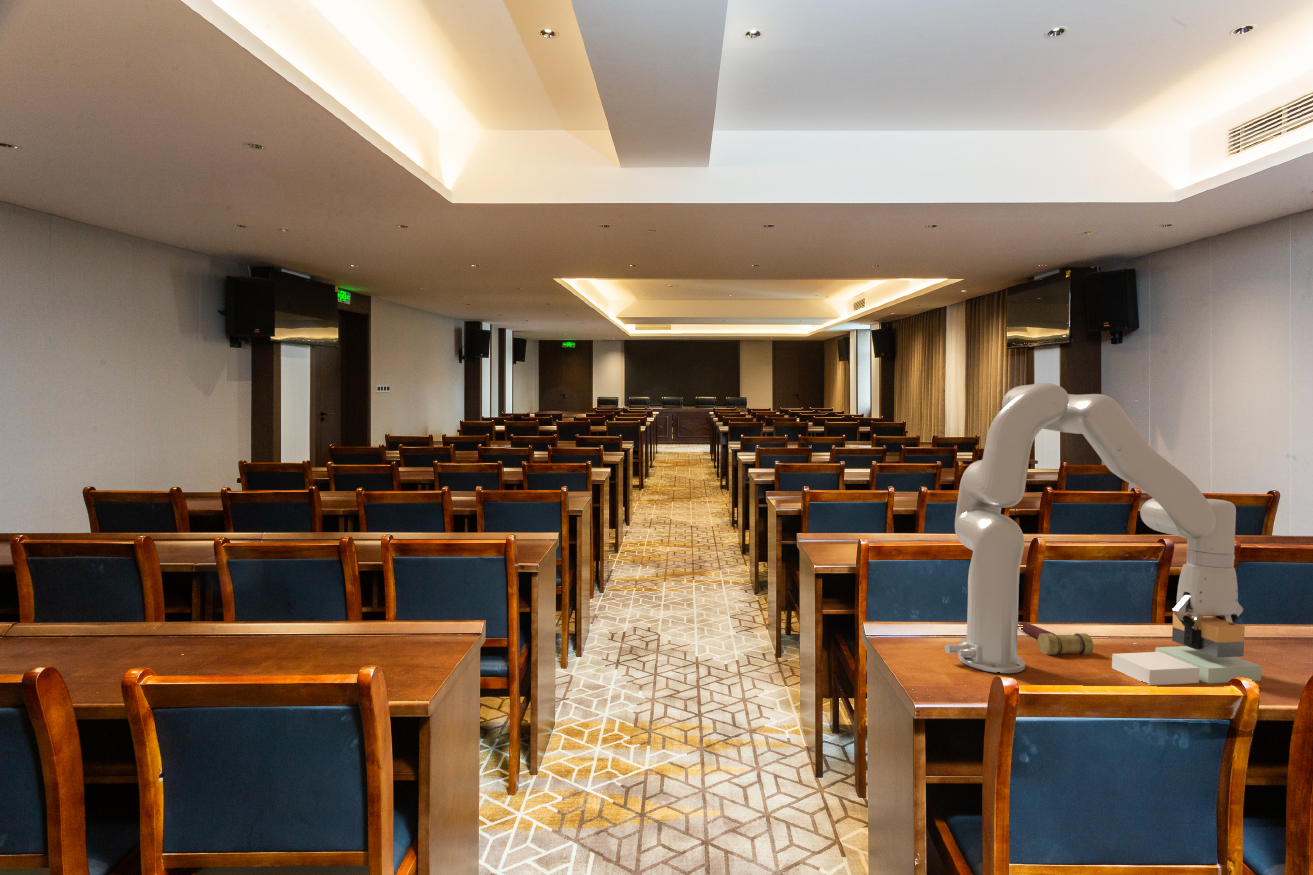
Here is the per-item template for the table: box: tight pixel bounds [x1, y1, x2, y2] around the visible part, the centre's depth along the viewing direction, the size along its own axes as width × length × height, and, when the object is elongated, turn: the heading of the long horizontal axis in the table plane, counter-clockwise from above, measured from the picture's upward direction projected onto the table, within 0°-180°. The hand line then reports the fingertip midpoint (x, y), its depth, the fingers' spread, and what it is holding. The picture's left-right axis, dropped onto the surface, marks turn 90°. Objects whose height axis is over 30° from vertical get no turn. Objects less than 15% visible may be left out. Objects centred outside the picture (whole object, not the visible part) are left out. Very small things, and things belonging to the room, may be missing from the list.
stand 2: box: [1154, 645, 1262, 684], centre depth 140 cm, size 12×12×3 cm
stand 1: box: [1111, 651, 1200, 686], centre depth 137 cm, size 11×9×3 cm
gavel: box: [1018, 621, 1095, 656], centre depth 158 cm, size 21×5×10 cm
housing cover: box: [1172, 612, 1246, 643], centre depth 139 cm, size 10×6×3 cm, turn 8°
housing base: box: [1171, 626, 1245, 658], centre depth 140 cm, size 10×6×3 cm, turn 8°
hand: (1206, 645), depth 140 cm, fingers closed on housing base, housing cover, 6 cm apart
